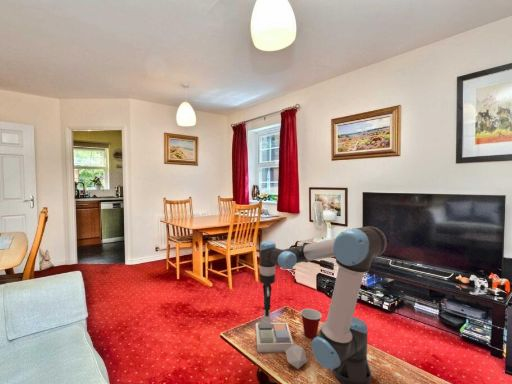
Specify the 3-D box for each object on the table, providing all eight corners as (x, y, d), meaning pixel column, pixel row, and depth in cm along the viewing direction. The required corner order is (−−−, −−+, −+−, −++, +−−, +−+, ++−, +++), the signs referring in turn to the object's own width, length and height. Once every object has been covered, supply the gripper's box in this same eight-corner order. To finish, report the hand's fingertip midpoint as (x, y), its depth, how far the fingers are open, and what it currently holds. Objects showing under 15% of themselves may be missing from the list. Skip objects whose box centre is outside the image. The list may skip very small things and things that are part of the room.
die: (310, 368, 123) (306, 342, 129) (303, 368, 116) (299, 340, 122) (292, 370, 126) (289, 344, 132) (284, 370, 119) (281, 343, 125)
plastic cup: (319, 343, 141) (319, 319, 140) (298, 338, 145) (298, 315, 144) (323, 332, 150) (323, 310, 150) (303, 328, 155) (303, 306, 154)
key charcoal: (271, 332, 144) (271, 327, 144) (259, 333, 143) (259, 328, 143) (270, 325, 151) (270, 321, 151) (259, 325, 150) (259, 321, 150)
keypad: (293, 352, 133) (293, 343, 133) (257, 352, 132) (257, 344, 132) (287, 329, 153) (287, 322, 153) (255, 330, 152) (255, 323, 152)
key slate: (289, 342, 135) (289, 337, 135) (276, 342, 135) (276, 337, 135) (287, 334, 142) (287, 329, 142) (275, 334, 142) (275, 329, 142)
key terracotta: (286, 335, 144) (286, 330, 144) (274, 335, 144) (274, 330, 144) (284, 328, 151) (284, 323, 151) (273, 328, 151) (273, 323, 151)
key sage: (273, 342, 135) (273, 337, 135) (260, 343, 134) (260, 337, 134) (272, 335, 142) (272, 329, 142) (260, 335, 141) (260, 330, 141)
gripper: (259, 269, 143) (258, 315, 144) (260, 278, 130) (259, 328, 131) (273, 269, 144) (273, 315, 145) (276, 278, 131) (275, 328, 132)
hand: (266, 321), depth 138 cm, fingers closed
